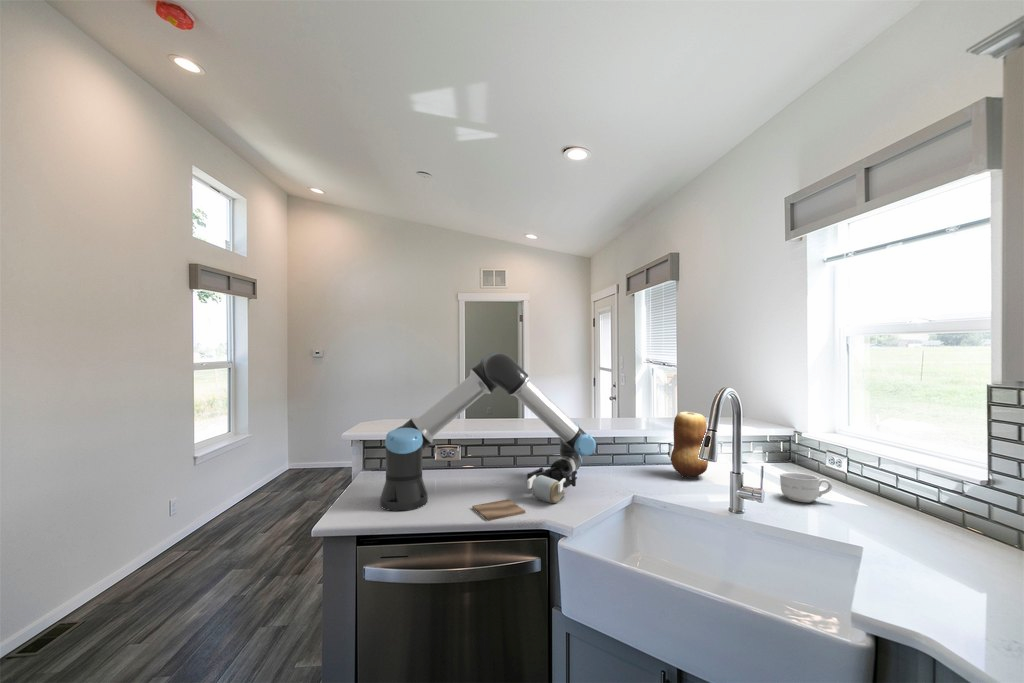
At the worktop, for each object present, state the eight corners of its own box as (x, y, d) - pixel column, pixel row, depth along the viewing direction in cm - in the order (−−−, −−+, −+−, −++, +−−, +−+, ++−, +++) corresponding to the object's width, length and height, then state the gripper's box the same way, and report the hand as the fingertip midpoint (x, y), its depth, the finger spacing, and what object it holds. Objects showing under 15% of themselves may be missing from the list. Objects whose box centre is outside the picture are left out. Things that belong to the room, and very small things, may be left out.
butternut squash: (708, 483, 158) (706, 415, 159) (669, 479, 164) (668, 413, 165) (708, 474, 171) (707, 410, 172) (672, 470, 176) (671, 409, 177)
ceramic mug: (551, 506, 135) (551, 482, 136) (531, 500, 141) (531, 477, 141) (570, 498, 143) (570, 475, 144) (550, 493, 149) (550, 471, 149)
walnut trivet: (472, 508, 135) (472, 505, 135) (508, 501, 141) (508, 499, 141) (487, 520, 125) (487, 517, 125) (525, 513, 130) (525, 510, 130)
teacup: (776, 500, 140) (776, 475, 140) (784, 492, 148) (783, 468, 148) (829, 510, 130) (828, 483, 131) (834, 501, 138) (833, 476, 139)
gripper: (593, 482, 153) (577, 502, 133) (534, 476, 162) (511, 494, 141) (592, 461, 154) (577, 477, 133) (534, 456, 162) (511, 471, 141)
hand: (543, 486), depth 137 cm, fingers closed on ceramic mug, 9 cm apart
